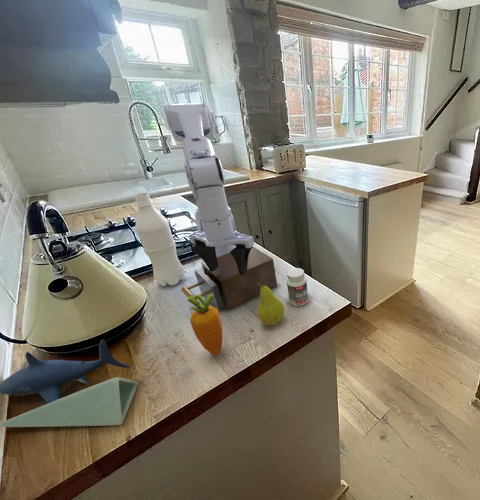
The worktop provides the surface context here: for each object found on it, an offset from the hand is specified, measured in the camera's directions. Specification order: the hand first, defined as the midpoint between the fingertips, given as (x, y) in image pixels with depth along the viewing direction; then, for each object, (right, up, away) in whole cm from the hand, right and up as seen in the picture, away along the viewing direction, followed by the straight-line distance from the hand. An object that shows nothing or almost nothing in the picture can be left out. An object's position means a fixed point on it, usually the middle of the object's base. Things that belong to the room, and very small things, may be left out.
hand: (229, 271), depth 69 cm
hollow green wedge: (-26, -19, -25) cm, 41 cm away
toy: (-21, -20, -15) cm, 33 cm away
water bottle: (-22, -4, +14) cm, 26 cm away
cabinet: (0, -5, +10) cm, 12 cm away
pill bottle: (+15, -8, +6) cm, 18 cm away
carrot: (+1, -16, -9) cm, 19 cm away
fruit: (+11, -12, -1) cm, 16 cm away
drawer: (-4, -6, +7) cm, 10 cm away
